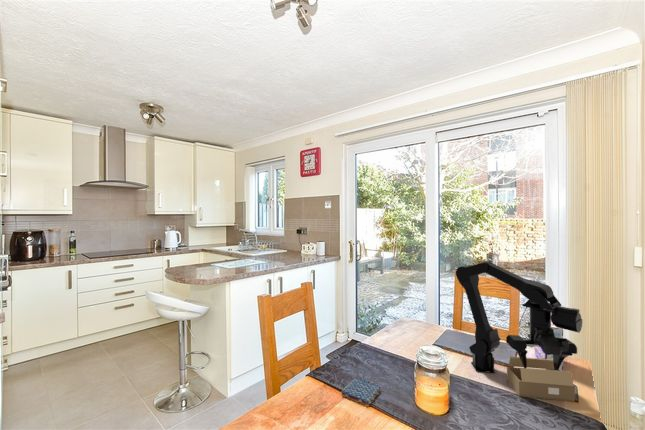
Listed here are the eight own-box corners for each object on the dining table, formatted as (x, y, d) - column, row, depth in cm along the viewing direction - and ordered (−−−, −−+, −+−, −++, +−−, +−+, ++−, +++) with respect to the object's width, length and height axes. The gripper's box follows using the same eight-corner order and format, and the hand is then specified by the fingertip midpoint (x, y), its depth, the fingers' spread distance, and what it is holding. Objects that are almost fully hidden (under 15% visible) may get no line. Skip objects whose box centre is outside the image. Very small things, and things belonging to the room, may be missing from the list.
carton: (519, 396, 97) (519, 381, 97) (507, 381, 106) (507, 366, 106) (576, 402, 94) (576, 386, 94) (559, 385, 103) (559, 371, 103)
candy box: (564, 372, 111) (564, 328, 111) (545, 369, 113) (545, 326, 113) (550, 356, 124) (550, 316, 124) (533, 353, 126) (533, 315, 126)
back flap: (554, 369, 103) (553, 368, 104) (556, 360, 102) (556, 359, 102) (509, 366, 106) (508, 365, 106) (510, 357, 104) (510, 356, 105)
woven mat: (339, 397, 98) (339, 390, 98) (355, 382, 106) (355, 376, 106) (368, 409, 92) (368, 402, 92) (382, 392, 100) (382, 386, 100)
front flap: (522, 381, 96) (522, 381, 96) (520, 367, 97) (520, 367, 97) (572, 385, 94) (573, 386, 93) (570, 371, 95) (570, 371, 94)
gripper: (520, 330, 93) (520, 380, 93) (589, 334, 89) (589, 386, 89) (505, 317, 103) (505, 362, 104) (566, 321, 100) (566, 367, 100)
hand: (540, 369), depth 99 cm, fingers open, 9 cm apart
